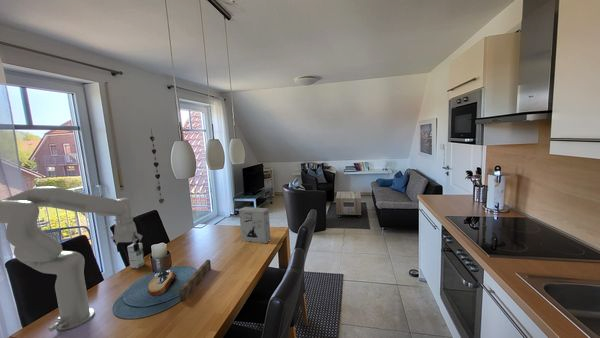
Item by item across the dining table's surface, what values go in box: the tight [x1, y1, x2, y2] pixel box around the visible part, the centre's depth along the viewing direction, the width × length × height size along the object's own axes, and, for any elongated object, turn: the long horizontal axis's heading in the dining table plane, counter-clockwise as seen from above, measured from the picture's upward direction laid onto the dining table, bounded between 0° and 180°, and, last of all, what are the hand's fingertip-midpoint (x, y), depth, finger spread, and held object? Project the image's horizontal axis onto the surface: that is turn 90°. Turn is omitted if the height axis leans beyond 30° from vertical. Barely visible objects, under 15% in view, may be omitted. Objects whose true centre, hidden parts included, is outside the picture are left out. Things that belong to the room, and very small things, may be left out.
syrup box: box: [126, 242, 146, 269], centre depth 158 cm, size 6×6×14 cm
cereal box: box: [238, 206, 271, 244], centre depth 188 cm, size 22×8×25 cm, turn 67°
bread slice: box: [147, 270, 176, 297], centre depth 136 cm, size 18×18×4 cm
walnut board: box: [178, 259, 212, 302], centre depth 134 cm, size 30×2×6 cm, turn 176°
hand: (128, 250), depth 137 cm, fingers open, 9 cm apart
